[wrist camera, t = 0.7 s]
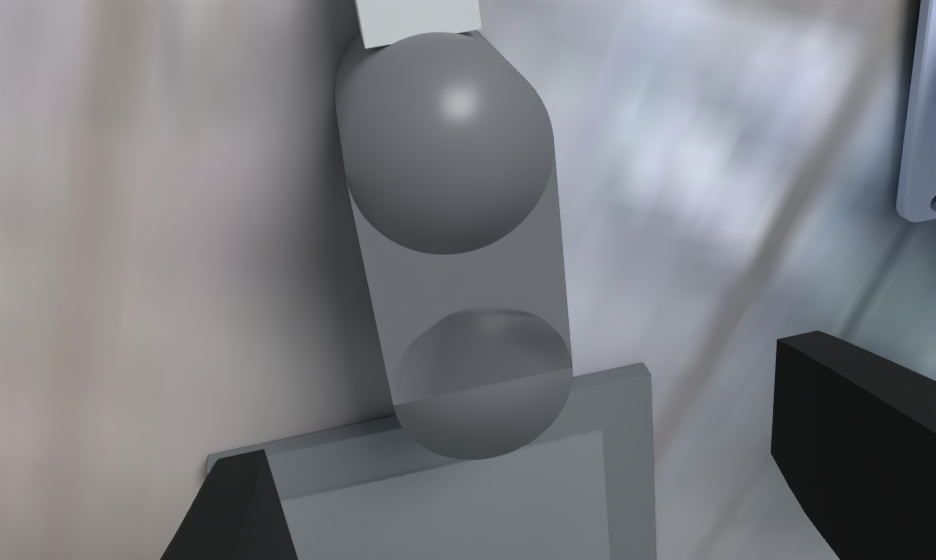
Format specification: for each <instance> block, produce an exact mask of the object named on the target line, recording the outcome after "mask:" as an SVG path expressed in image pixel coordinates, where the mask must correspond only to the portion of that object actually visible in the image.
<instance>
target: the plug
mask: <svg viewBox="0 0 936 560" xmlns="http://www.w3.org/2000/svg"><path fill="white" fill-rule="evenodd" d="M355 5H356V11H357V16H358V22H359V27H360V32H359V33H358V34H357V35H356V36H355V37H354V39H353V40H352V41H351V43H350V44H349V45H348V47H347V49H346V50H345V52H344V54H343V56H342V58H341V61H340V63H339V66H338V69H337V73H336V78H335V85H334V99H335V107H336V114H337V121H338V128H339V134H340V141H341V148H342V155H343V162H344V169H345V176H346V181H347V186H348V191H349V196H350V201H351V205H352V210H353V215H354V220H355V225H356V229H357V234H358V239H359V244H360V249H361V253H362V258H363V263H364V268H365V272H366V277H367V282H368V287H369V292H370V296H371V301H372V306H373V311H374V316H375V320H376V325H377V330H378V335H379V340H380V344H381V349H382V354H383V359H384V364H385V368H386V373H387V378H388V383H389V388H390V392H391V397H392V402H393V406H394V410H395V413H396V416H397V418H398V420H399V422H400V424H401V426H402V427H403V429H404V430H405V431H406V433H407V434H408V435H409V436H410V437H411V438H412V439H413V440H414V441H416V442H417V443H418V444H419V445H421V446H422V447H424V448H426V449H427V450H429V451H431V452H434V453H436V454H438V455H442V456H445V457H449V458H454V459H460V460H481V459H488V458H494V457H498V456H502V455H505V454H508V453H510V452H513V451H515V450H518V449H519V448H521V447H523V446H525V445H527V444H529V443H530V442H532V441H533V440H535V439H536V438H537V437H539V436H540V435H541V434H542V433H544V432H545V431H546V430H547V429H548V428H549V427H550V426H551V425H552V423H553V422H554V421H555V420H556V418H557V417H558V416H559V414H560V412H561V411H562V409H563V408H564V406H565V403H566V401H567V399H568V396H569V393H570V390H571V385H572V378H573V367H572V355H571V343H570V331H569V319H568V307H567V294H566V282H565V270H564V258H563V246H562V234H561V221H560V209H559V197H558V185H557V173H556V161H555V148H554V138H553V131H552V125H551V122H550V119H549V115H548V113H547V110H546V108H545V106H544V104H543V102H542V100H541V98H540V97H539V95H538V94H537V92H536V91H535V89H534V88H533V87H532V86H531V85H530V83H529V82H528V81H527V80H526V79H525V78H524V77H523V76H522V75H521V74H520V73H519V72H518V71H517V70H516V69H515V68H514V67H513V66H512V65H511V64H510V63H509V62H508V61H507V60H506V59H505V58H504V57H503V56H502V55H501V54H500V53H499V52H498V51H497V50H496V49H495V48H494V47H493V46H492V45H491V44H490V43H489V42H488V41H487V40H486V39H485V38H484V37H483V36H482V35H481V34H480V33H479V32H478V31H477V30H479V29H481V20H480V11H479V3H478V0H355Z"/></svg>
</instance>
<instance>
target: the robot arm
mask: <svg viewBox="0 0 936 560" xmlns="http://www.w3.org/2000/svg"><path fill="white" fill-rule="evenodd" d="M935 196H936V0H921V5H920V13H919V21H918V29H917V38H916V46H915V54H914V62H913V70H912V78H911V87H910V95H909V103H908V111H907V119H906V127H905V136H904V144H903V152H902V160H901V168H900V176H899V185H898V193H897V201H896V209H897V212H898V213H899V215H900V216H902V217H903V218H905V219H907V220H909V221H911V222H922V221H927V220H932V219H936V201H935V202H934V204H932V205H930V204H931V201H932V199H933V198H934V197H935ZM771 454H772V456H773V458H774V460H775V462H776V464H777V465H778V467H779V469H780V471H781V473H782V474H783V476H784V478H785V480H786V482H787V483H788V485H789V487H790V489H791V490H792V492H793V494H794V495H795V497H796V499H797V500H798V502H799V504H800V505H801V507H802V509H803V510H804V512H805V514H806V515H807V516H808V518H809V519H810V520H811V522H812V523H813V524H814V526H815V527H816V529H817V530H818V531H819V533H820V534H821V535H822V536H823V538H824V539H825V540H826V542H827V543H828V544H829V546H830V547H831V548H832V550H833V551H834V552H835V554H836V555H837V556H838V557H839V559H840V560H936V381H934V380H932V379H930V378H928V377H925V376H923V375H921V374H919V373H916V372H914V371H912V370H910V369H907V368H905V367H903V366H901V365H898V364H896V363H894V362H892V361H889V360H887V359H885V358H883V357H880V356H878V355H876V354H874V353H871V352H869V351H867V350H865V349H862V348H860V347H858V346H855V345H853V344H851V343H848V342H846V341H844V340H841V339H839V338H836V337H834V336H831V335H828V334H826V333H823V332H820V331H814V332H809V333H805V334H800V335H795V336H791V337H786V338H781V339H777V350H776V368H775V386H774V404H773V423H772V441H771ZM160 560H298V557H297V554H296V551H295V547H294V544H293V541H292V538H291V534H290V531H289V528H288V525H287V521H286V518H285V515H284V511H283V508H282V505H281V502H280V498H279V495H278V492H277V489H276V485H275V482H274V479H273V476H272V472H271V469H270V466H269V463H268V459H267V456H266V453H265V450H264V449H261V450H257V451H252V452H247V453H243V454H238V455H233V456H229V457H224V458H219V459H218V460H217V461H216V462H215V464H214V465H213V466H212V468H211V470H210V472H209V474H208V475H207V477H206V479H205V481H204V483H203V485H202V487H201V488H200V490H199V492H198V494H197V496H196V498H195V500H194V501H193V503H192V505H191V507H190V509H189V511H188V512H187V514H186V516H185V518H184V520H183V521H182V523H181V525H180V527H179V528H178V530H177V532H176V534H175V536H174V537H173V539H172V541H171V542H170V544H169V546H168V547H167V549H166V551H165V552H164V554H163V556H162V557H161V559H160Z"/></svg>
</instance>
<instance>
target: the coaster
mask: <svg viewBox="0 0 936 560" xmlns="http://www.w3.org/2000/svg"><path fill="white" fill-rule="evenodd" d="M261 449H264V450H265V453H266V456H267V459H268V463H269V466H270V469H271V472H272V476H273V479H274V482H275V485H276V489H277V492H278V495H279V498H280V502H281V505H282V508H283V511H284V515H285V518H286V521H287V525H288V528H289V531H290V534H291V538H292V541H293V544H294V547H295V551H296V554H297V557H298V560H656V529H655V495H654V461H653V427H652V393H651V374H650V372H649V371H648V369H647V368H646V366H645V365H644V363H639V364H635V365H630V366H625V367H621V368H616V369H611V370H606V371H602V372H597V373H592V374H588V375H583V376H578V377H573V378H572V385H571V390H570V393H569V396H568V399H567V401H566V403H565V406H564V408H563V409H562V411H561V412H560V414H559V416H558V417H557V418H556V420H555V421H554V422H553V423H552V425H551V426H550V427H549V428H548V429H547V430H546V431H545V432H544V433H542V434H541V435H540V436H539V437H537V438H536V439H535V440H533V441H532V442H530V443H529V444H527V445H525V446H523V447H521V448H519V449H518V450H515V451H513V452H510V453H508V454H505V455H502V456H498V457H494V458H488V459H481V460H460V459H454V458H449V457H445V456H442V455H438V454H436V453H434V452H431V451H429V450H427V449H426V448H424V447H422V446H421V445H419V444H418V443H417V442H416V441H414V440H413V439H412V438H411V437H410V436H409V435H408V434H407V433H406V431H405V430H404V429H403V427H402V426H401V424H400V422H399V420H398V418H397V416H396V415H395V416H390V417H385V418H380V419H376V420H371V421H366V422H362V423H357V424H352V425H347V426H343V427H338V428H333V429H329V430H324V431H319V432H314V433H310V434H305V435H300V436H296V437H291V438H286V439H282V440H277V441H272V442H267V443H263V444H258V445H253V446H249V447H244V448H239V449H234V450H230V451H225V452H220V453H216V454H211V455H209V456H208V462H207V469H206V470H207V473H208V474H209V472H210V470H211V468H212V466H213V465H214V464H215V462H216V461H217V460H218V459H219V458H224V457H229V456H233V455H238V454H243V453H247V452H252V451H257V450H261Z"/></svg>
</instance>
